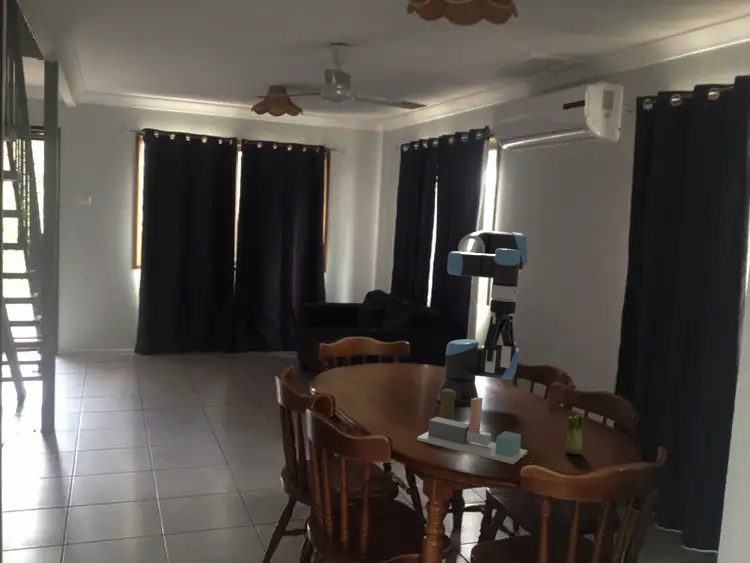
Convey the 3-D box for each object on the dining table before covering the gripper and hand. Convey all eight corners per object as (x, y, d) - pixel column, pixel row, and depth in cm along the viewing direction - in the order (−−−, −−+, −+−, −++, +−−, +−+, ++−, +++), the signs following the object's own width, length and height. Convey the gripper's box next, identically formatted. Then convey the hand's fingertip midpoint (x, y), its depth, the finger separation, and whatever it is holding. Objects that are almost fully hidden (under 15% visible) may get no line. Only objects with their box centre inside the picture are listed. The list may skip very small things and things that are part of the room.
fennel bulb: (566, 456, 216) (569, 417, 215) (560, 450, 221) (564, 412, 220) (584, 457, 216) (588, 418, 215) (579, 451, 221) (583, 413, 220)
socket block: (495, 453, 211) (496, 436, 210) (503, 447, 217) (505, 431, 216) (511, 457, 208) (512, 440, 208) (519, 451, 214) (521, 434, 214)
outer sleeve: (428, 435, 223) (429, 420, 222) (435, 432, 227) (436, 416, 227) (463, 444, 217) (465, 428, 216) (470, 440, 221) (471, 424, 221)
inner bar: (437, 434, 222) (441, 393, 220) (443, 431, 225) (446, 390, 224) (486, 446, 214) (490, 403, 212) (491, 442, 217) (495, 400, 216)
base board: (417, 440, 221) (417, 436, 221) (434, 431, 231) (434, 428, 231) (513, 464, 205) (513, 460, 205) (527, 453, 216) (527, 450, 216)
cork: (456, 420, 245) (459, 388, 244) (452, 425, 240) (455, 392, 239) (439, 417, 247) (442, 386, 246) (435, 422, 242) (437, 390, 241)
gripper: (501, 302, 204) (495, 376, 205) (528, 300, 226) (522, 367, 227) (476, 299, 208) (470, 372, 209) (505, 297, 229) (499, 363, 231)
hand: (497, 369), depth 218 cm, fingers open, 13 cm apart
